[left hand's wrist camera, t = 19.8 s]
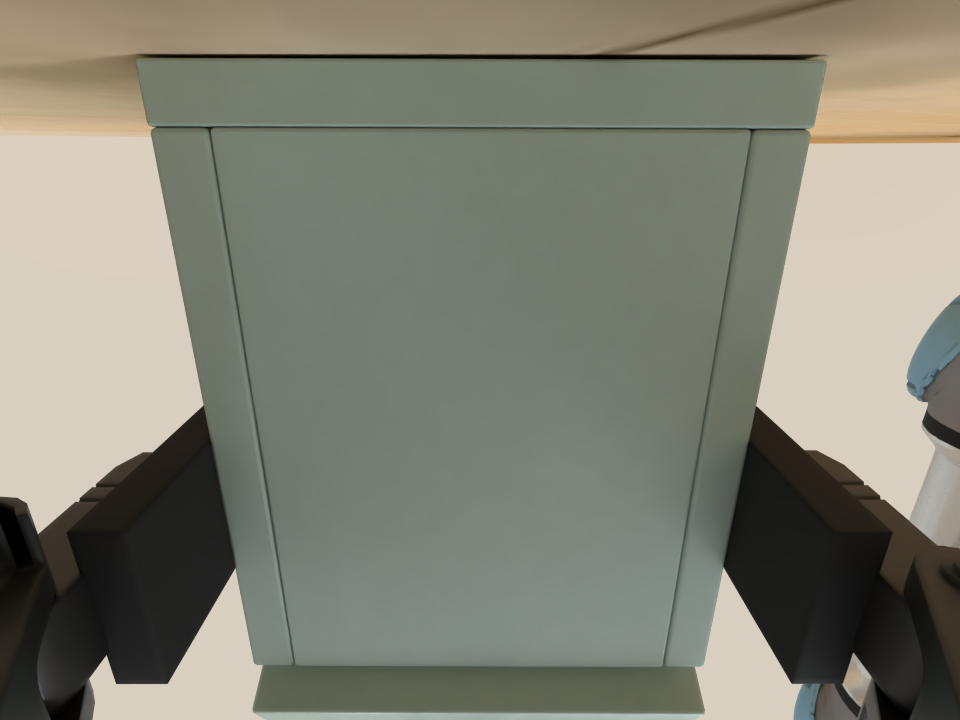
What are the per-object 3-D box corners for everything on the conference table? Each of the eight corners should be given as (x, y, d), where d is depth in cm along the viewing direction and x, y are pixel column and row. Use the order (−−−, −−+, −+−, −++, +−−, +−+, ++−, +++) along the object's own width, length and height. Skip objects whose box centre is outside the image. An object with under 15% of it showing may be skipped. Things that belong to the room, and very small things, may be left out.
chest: (586, 124, 24) (571, 360, 27) (375, 124, 24) (389, 360, 28) (829, 59, 7) (704, 668, 11) (132, 57, 7) (252, 667, 11)
